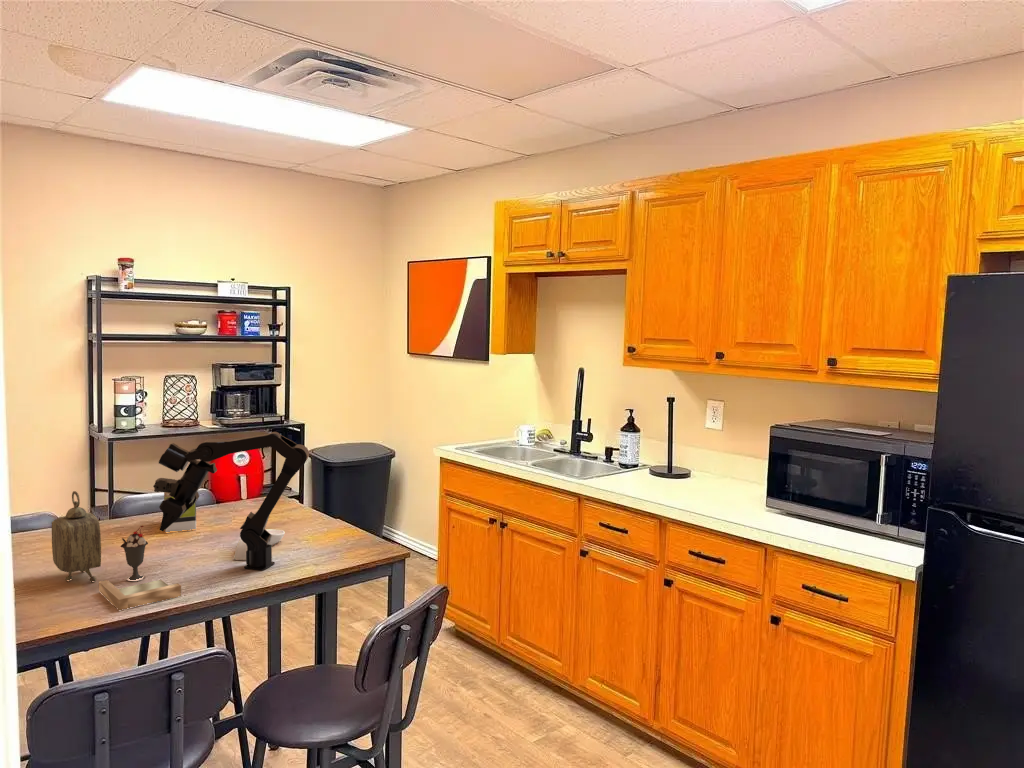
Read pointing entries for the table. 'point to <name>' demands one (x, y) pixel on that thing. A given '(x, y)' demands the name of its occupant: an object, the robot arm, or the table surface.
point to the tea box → (183, 519)
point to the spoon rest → (276, 537)
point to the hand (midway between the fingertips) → (166, 526)
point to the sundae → (134, 552)
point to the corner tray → (138, 593)
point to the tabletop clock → (76, 541)
